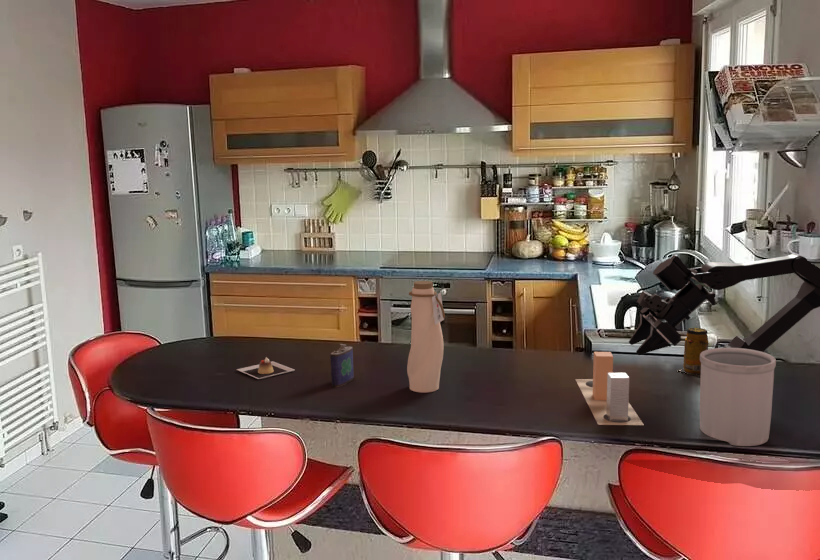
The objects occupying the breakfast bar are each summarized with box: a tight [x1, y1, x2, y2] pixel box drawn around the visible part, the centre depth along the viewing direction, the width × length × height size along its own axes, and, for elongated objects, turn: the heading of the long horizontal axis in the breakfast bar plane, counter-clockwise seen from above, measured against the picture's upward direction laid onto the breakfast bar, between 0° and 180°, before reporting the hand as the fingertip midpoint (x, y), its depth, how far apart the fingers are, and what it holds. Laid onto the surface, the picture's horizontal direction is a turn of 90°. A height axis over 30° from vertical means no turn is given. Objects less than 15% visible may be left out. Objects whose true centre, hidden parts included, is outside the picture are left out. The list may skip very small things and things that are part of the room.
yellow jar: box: [678, 327, 709, 378], centre depth 204 cm, size 7×8×12 cm
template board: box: [575, 378, 644, 426], centre depth 181 cm, size 33×10×1 cm, turn 176°
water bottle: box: [406, 280, 446, 394], centre depth 192 cm, size 10×9×28 cm
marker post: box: [592, 351, 614, 400], centre depth 182 cm, size 4×4×11 cm
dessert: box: [236, 357, 295, 380], centre depth 211 cm, size 12×12×5 cm
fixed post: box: [606, 372, 630, 421], centre depth 168 cm, size 4×4×10 cm
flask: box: [329, 343, 355, 388], centre depth 199 cm, size 9×3×11 cm, turn 152°
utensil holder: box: [699, 347, 777, 447], centre depth 159 cm, size 15×15×18 cm
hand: (633, 348), depth 180 cm, fingers open, 9 cm apart
